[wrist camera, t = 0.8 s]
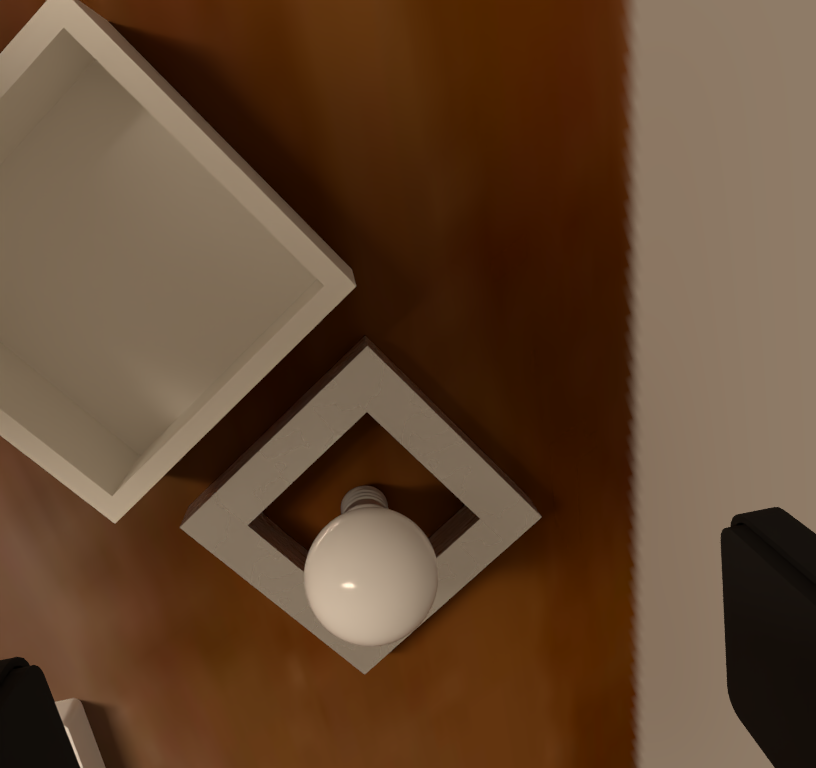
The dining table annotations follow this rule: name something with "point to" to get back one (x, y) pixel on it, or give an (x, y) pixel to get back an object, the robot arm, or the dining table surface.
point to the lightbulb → (370, 572)
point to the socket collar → (307, 440)
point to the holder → (80, 733)
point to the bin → (133, 263)
